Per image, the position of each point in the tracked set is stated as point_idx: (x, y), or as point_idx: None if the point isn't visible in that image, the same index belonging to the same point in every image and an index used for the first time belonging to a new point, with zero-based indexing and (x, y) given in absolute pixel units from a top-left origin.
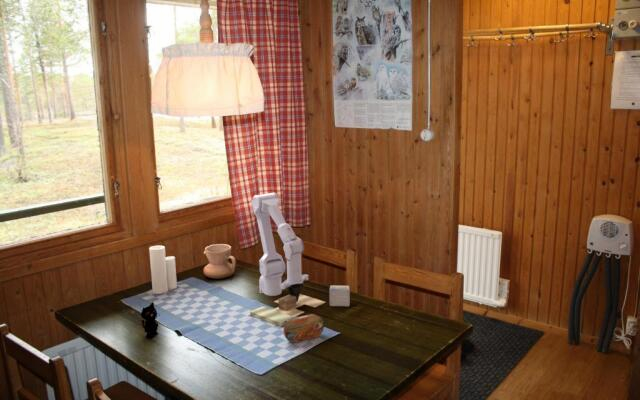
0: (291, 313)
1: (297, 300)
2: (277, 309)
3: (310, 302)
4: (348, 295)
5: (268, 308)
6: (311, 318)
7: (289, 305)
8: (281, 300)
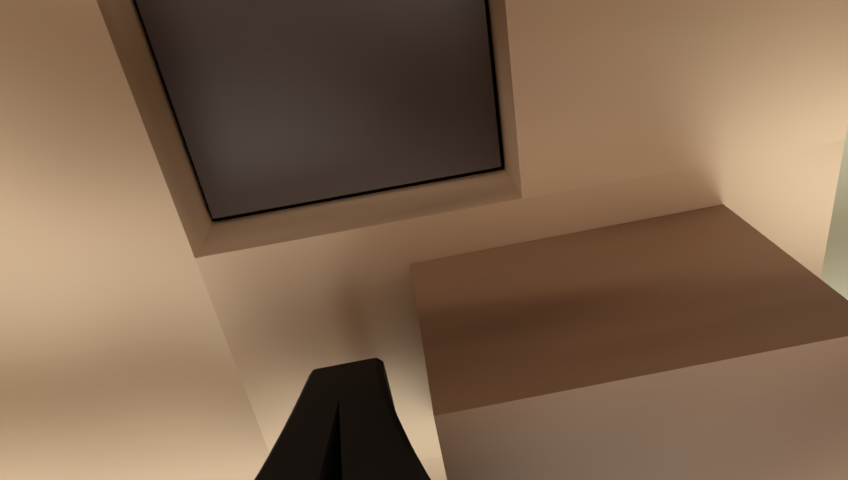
0: (761, 13)
1: (330, 377)
2: None
3: (24, 246)
4: None
5: None
6: None
7: (651, 268)
8: (842, 442)
